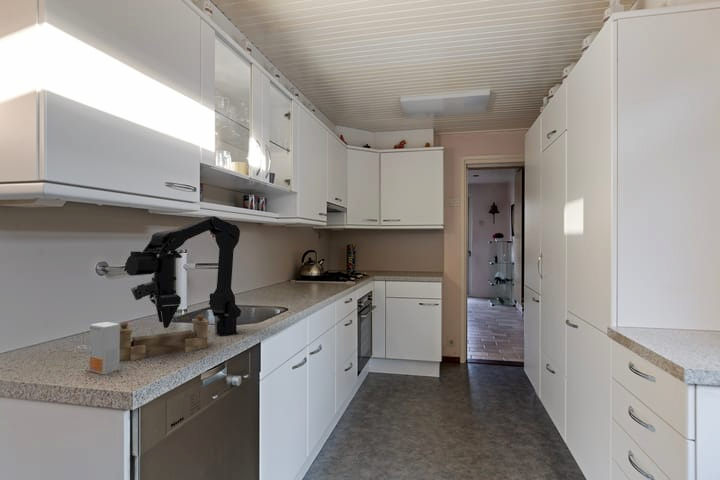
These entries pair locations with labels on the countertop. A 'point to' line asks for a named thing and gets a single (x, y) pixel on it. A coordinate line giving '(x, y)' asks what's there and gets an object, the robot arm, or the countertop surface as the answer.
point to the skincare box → (104, 347)
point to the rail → (163, 342)
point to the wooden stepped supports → (139, 351)
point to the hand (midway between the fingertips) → (163, 324)
